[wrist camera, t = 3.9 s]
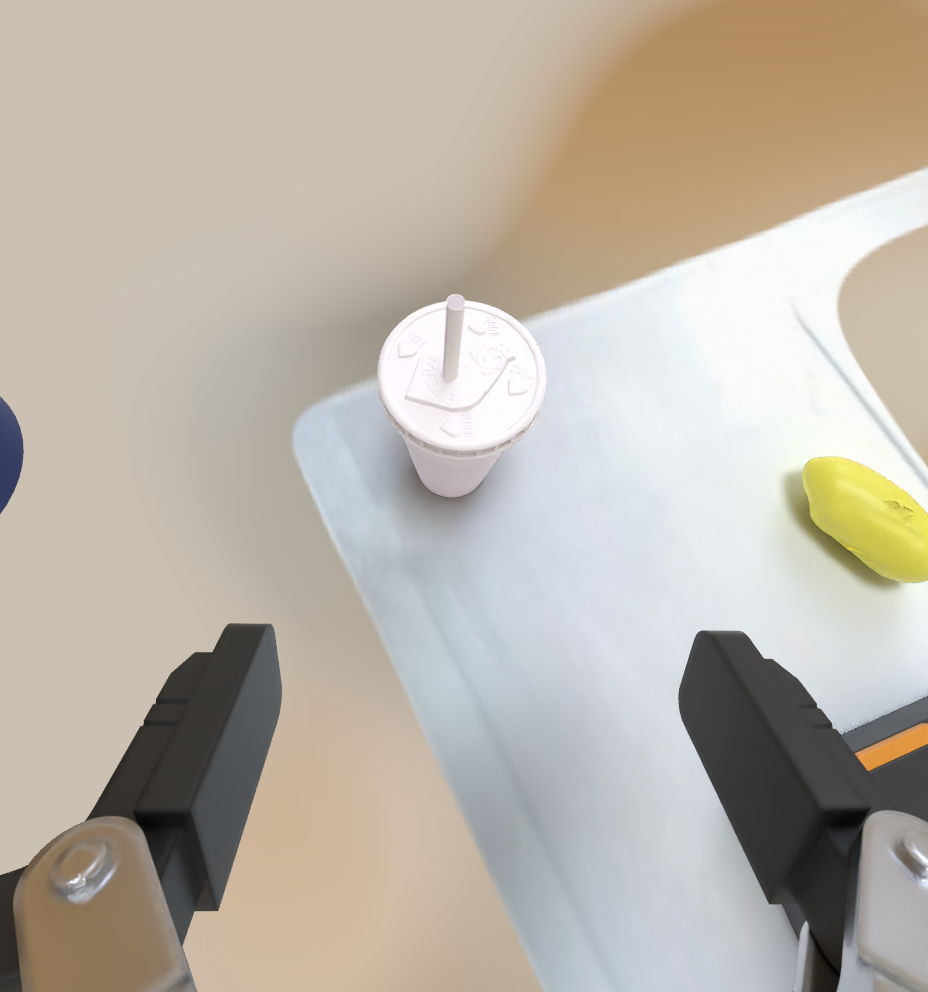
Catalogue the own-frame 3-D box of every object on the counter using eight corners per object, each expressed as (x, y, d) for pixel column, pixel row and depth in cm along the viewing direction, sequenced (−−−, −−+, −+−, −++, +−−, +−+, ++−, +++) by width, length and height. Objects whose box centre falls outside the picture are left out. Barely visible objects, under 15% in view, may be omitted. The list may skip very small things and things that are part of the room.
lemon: (876, 609, 29) (942, 599, 25) (765, 491, 31) (812, 465, 27) (924, 561, 30) (995, 545, 26) (814, 449, 32) (866, 419, 28)
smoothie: (370, 440, 30) (326, 253, 17) (474, 391, 31) (510, 182, 18) (426, 544, 29) (427, 428, 15) (533, 488, 30) (620, 337, 17)
